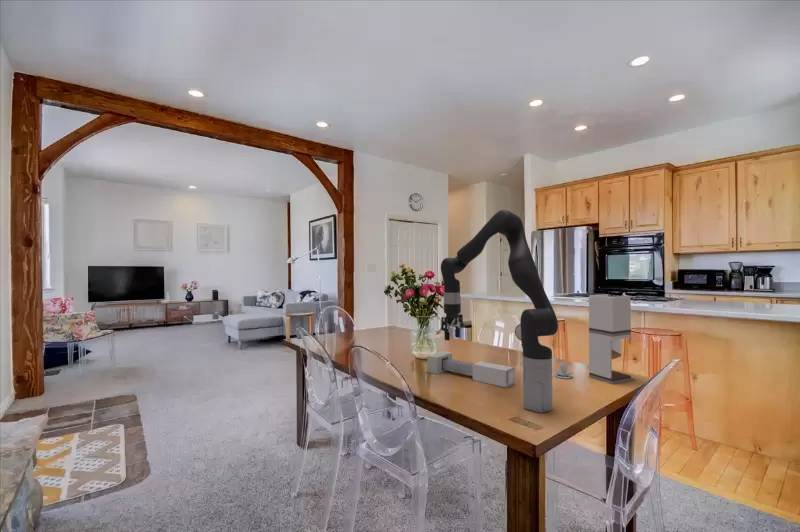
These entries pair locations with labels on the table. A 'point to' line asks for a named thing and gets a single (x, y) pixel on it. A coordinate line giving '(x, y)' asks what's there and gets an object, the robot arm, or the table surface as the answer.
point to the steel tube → (457, 366)
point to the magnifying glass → (518, 332)
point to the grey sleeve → (493, 374)
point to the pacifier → (563, 372)
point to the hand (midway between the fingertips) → (452, 338)
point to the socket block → (437, 362)
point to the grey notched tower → (607, 335)
